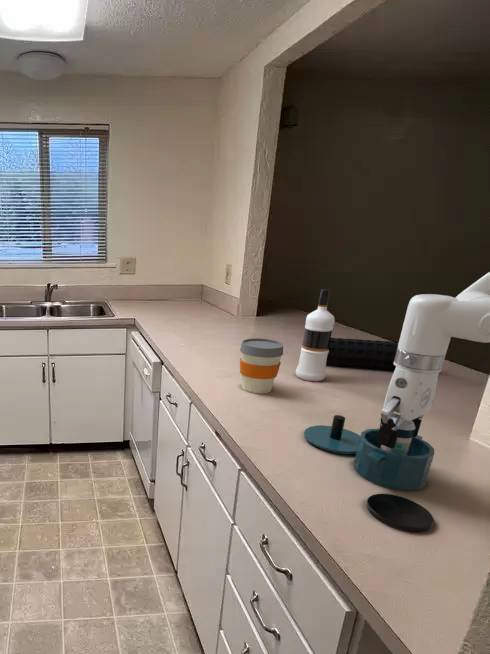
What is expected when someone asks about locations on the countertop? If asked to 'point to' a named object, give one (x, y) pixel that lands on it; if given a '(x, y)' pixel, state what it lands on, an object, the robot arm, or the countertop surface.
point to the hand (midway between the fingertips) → (396, 439)
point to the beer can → (402, 438)
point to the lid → (333, 437)
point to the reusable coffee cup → (259, 364)
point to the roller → (362, 353)
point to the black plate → (400, 512)
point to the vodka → (316, 342)
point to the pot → (393, 463)
